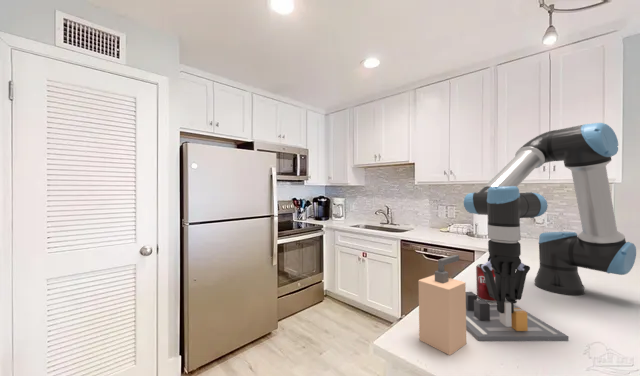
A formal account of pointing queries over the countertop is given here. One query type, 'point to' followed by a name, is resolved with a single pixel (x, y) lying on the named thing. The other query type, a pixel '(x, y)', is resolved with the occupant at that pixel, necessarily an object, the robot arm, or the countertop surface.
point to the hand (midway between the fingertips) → (505, 323)
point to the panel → (489, 328)
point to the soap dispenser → (442, 310)
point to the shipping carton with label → (519, 320)
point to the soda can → (483, 285)
